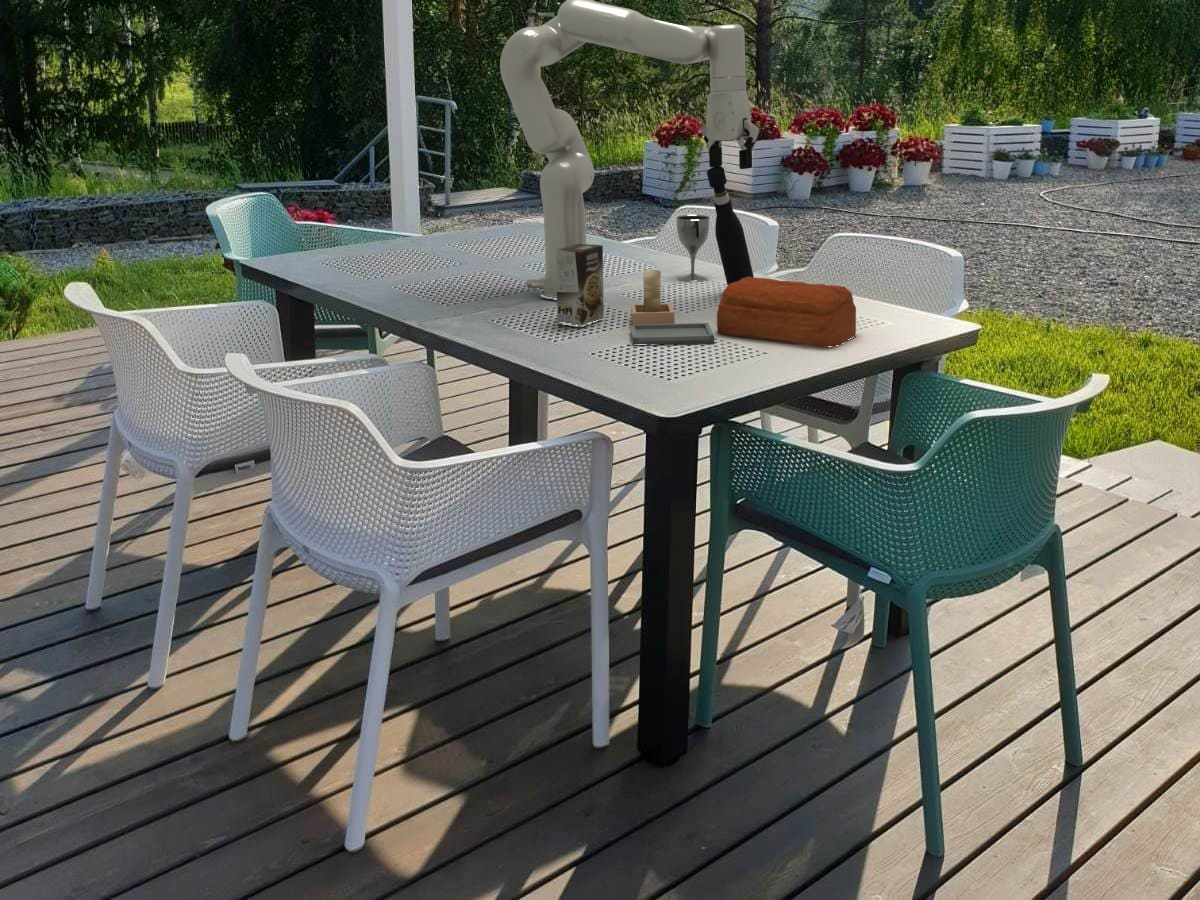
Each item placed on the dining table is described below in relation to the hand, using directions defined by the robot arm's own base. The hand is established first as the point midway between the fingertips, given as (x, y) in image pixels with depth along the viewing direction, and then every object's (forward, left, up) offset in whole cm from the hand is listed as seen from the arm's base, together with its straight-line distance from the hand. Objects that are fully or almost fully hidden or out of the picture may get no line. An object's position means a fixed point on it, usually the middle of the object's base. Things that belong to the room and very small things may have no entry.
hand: (730, 167), depth 268 cm
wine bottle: (+5, +11, -29) cm, 31 cm away
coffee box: (-33, -16, -30) cm, 48 cm away
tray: (-15, -31, -30) cm, 46 cm away
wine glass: (-5, +28, -30) cm, 41 cm away
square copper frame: (-18, -18, -30) cm, 40 cm away
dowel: (-18, -18, -30) cm, 40 cm away
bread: (+8, -30, -30) cm, 43 cm away
